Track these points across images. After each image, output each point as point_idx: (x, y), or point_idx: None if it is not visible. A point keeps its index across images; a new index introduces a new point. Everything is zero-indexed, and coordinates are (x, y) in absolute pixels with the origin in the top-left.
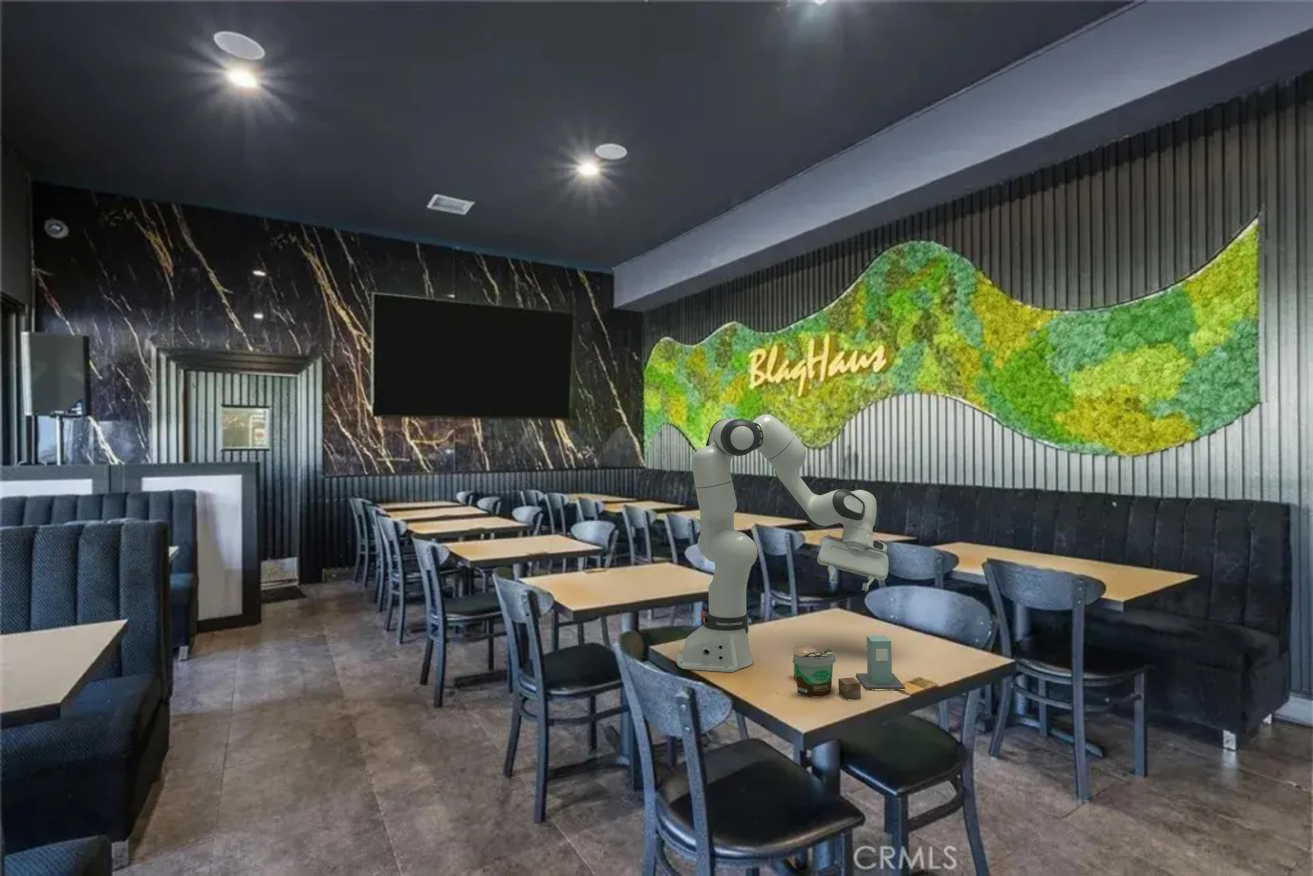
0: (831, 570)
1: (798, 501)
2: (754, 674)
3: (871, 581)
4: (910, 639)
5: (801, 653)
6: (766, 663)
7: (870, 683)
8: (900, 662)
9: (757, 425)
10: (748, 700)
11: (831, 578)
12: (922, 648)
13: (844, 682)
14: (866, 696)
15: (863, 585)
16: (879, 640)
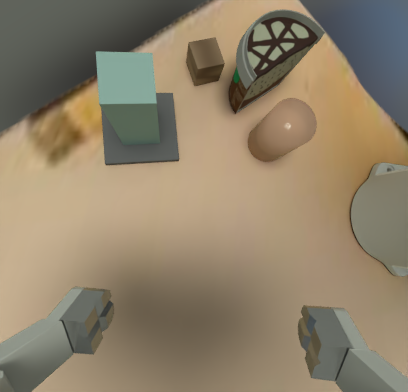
0: (400, 388)
1: None
2: (342, 159)
3: (6, 344)
4: None
5: (300, 101)
6: (328, 215)
7: (161, 109)
8: (68, 253)
9: None
10: (341, 58)
11: (340, 313)
12: None
13: (216, 45)
14: (175, 71)
15: (96, 311)
16: (128, 59)
